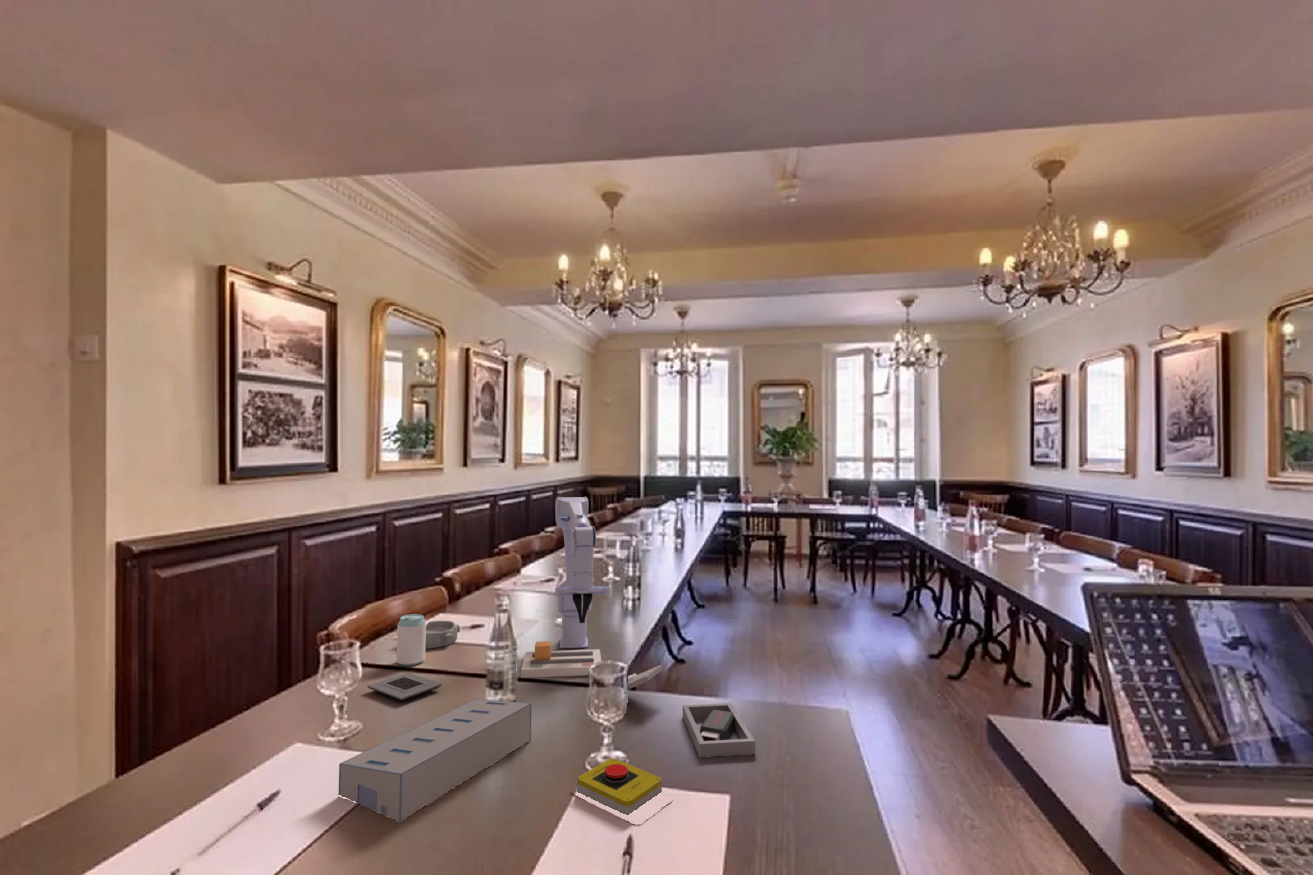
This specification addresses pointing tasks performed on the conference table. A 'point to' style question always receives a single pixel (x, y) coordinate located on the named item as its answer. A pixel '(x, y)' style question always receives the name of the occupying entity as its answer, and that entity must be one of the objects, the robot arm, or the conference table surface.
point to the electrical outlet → (404, 686)
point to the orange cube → (543, 650)
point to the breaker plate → (560, 663)
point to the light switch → (643, 676)
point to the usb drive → (717, 725)
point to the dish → (441, 633)
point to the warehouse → (434, 757)
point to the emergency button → (619, 785)
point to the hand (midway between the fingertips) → (582, 622)
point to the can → (411, 639)
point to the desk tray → (719, 746)
